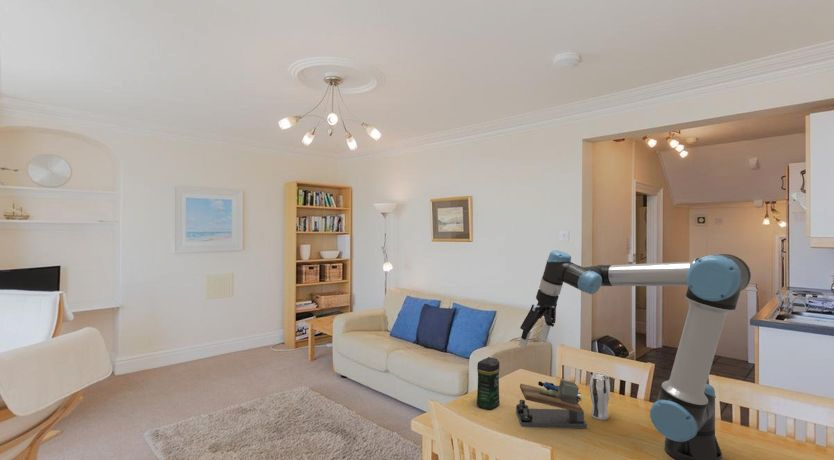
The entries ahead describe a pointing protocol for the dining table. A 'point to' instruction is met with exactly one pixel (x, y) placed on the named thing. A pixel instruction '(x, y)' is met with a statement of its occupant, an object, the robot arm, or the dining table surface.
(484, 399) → the coffee jar
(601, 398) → the beer glass
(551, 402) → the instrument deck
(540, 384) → the person figurine
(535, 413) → the grey base with fittings
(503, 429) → the dining table surface
